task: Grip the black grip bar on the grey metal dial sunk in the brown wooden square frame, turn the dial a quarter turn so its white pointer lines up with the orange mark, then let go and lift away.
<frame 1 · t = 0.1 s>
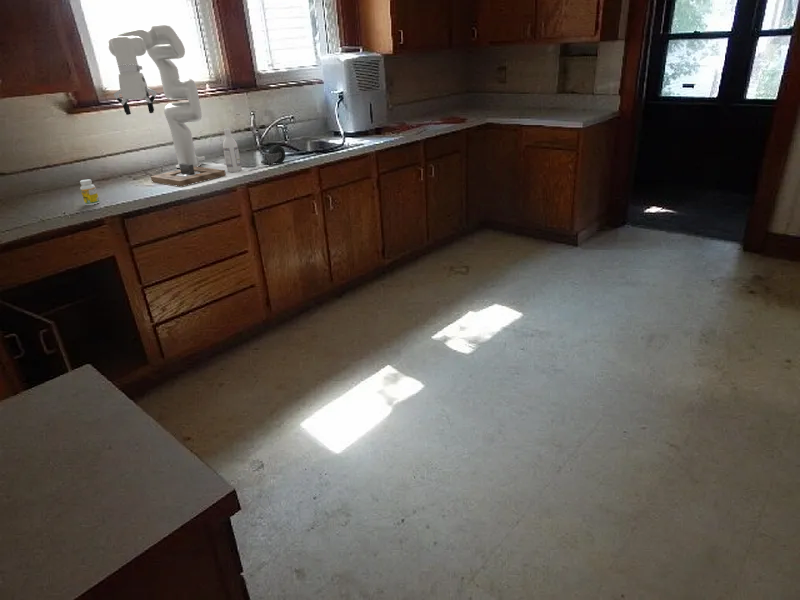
hand: (140, 113, 225), 31 cm above the counter, tool pointing down, fingers open, 9 cm apart
dial: (187, 171, 249), point 3 cm above the counter, hinge at 0.0°
caster wheel: (273, 165, 271), on the counter
supplement bottle: (92, 204, 215), on the counter
brown wooden square frame: (189, 178, 251), on the counter
bath foam: (234, 171, 262), on the counter
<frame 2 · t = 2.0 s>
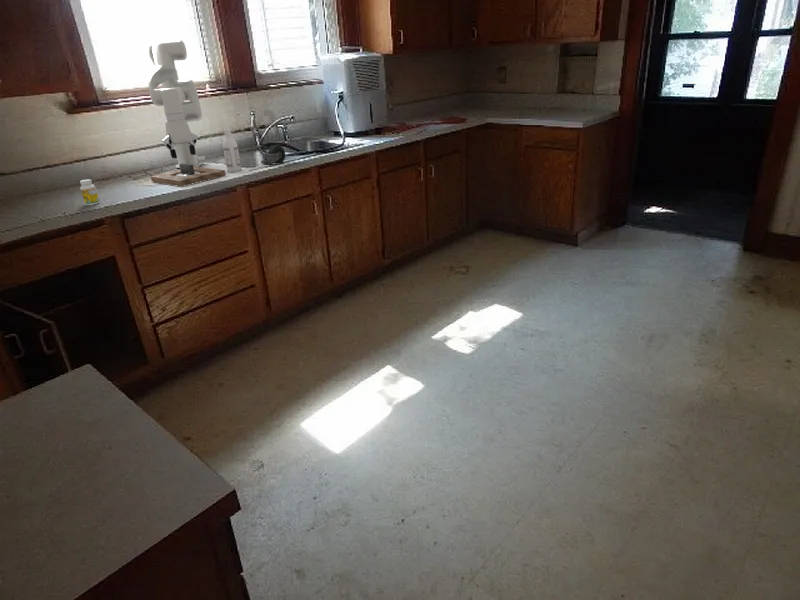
hand: (184, 156, 246), 10 cm above the counter, tool pointing down, fingers open, 9 cm apart
nothing on the counter moved.
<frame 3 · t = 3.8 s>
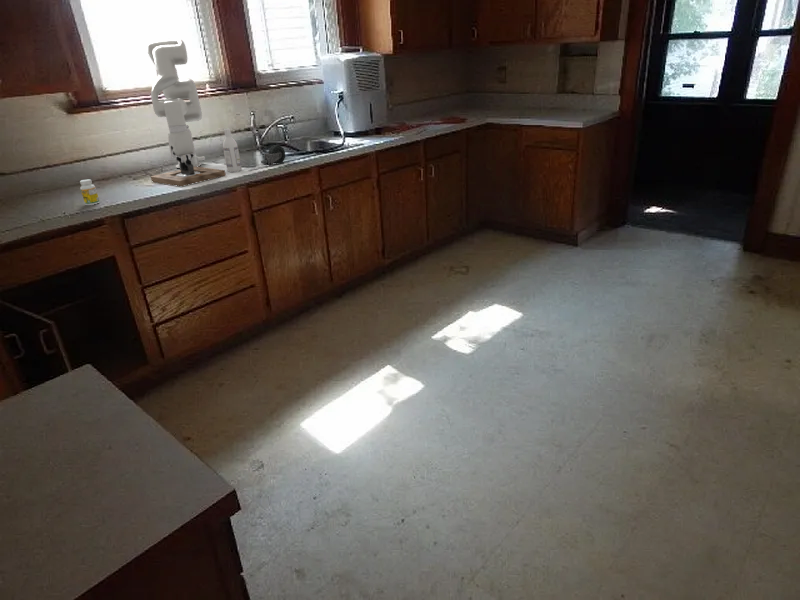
hand: (187, 169, 249), 4 cm above the counter, tool pointing down, fingers closed on dial, 2 cm apart
dial: (187, 171, 249), point 3 cm above the counter, hinge at 0.0°, touching gripper
everything else where it was.
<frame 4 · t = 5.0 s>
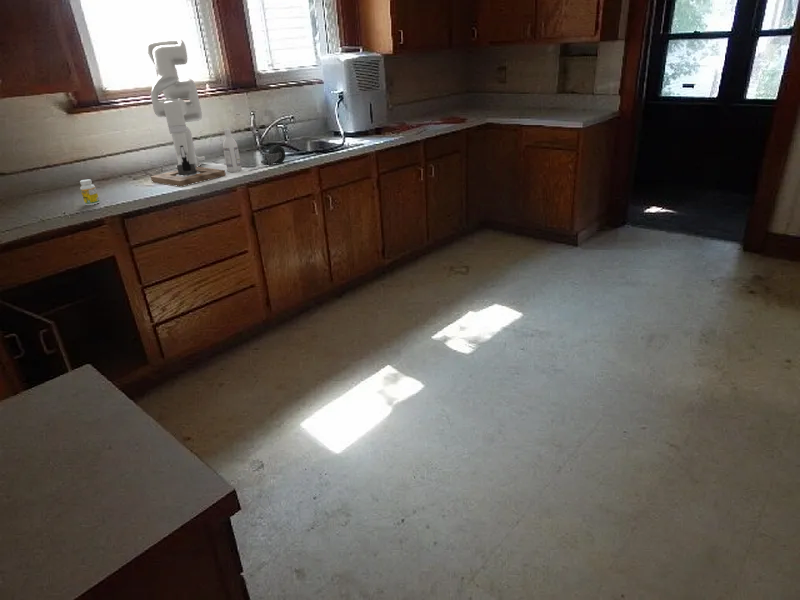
hand: (187, 169, 249), 4 cm above the counter, tool pointing down, fingers closed on dial, 3 cm apart
dial: (187, 171, 249), point 3 cm above the counter, hinge at 41.6°, touching gripper
everything else where it was.
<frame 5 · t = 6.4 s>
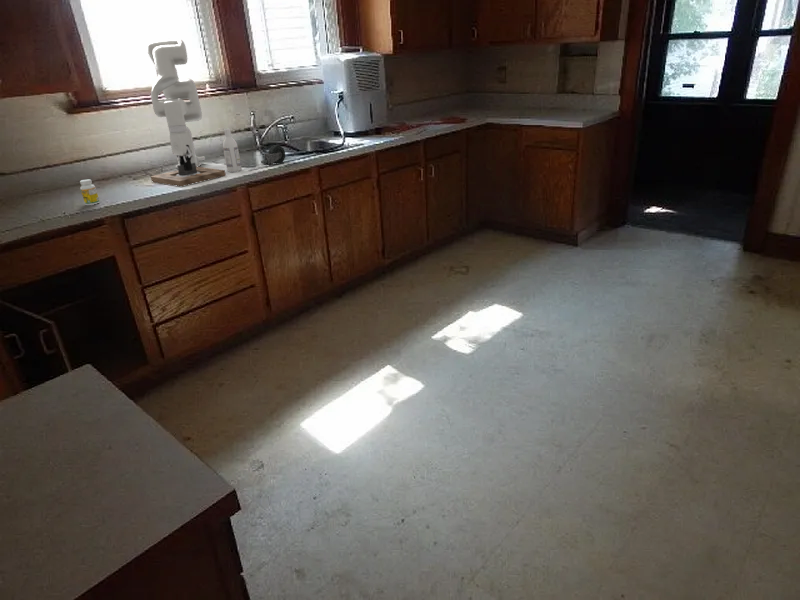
hand: (187, 169, 249), 4 cm above the counter, tool pointing down, fingers closed on dial, 3 cm apart
dial: (187, 171, 249), point 3 cm above the counter, hinge at 73.5°, touching gripper
everything else where it was.
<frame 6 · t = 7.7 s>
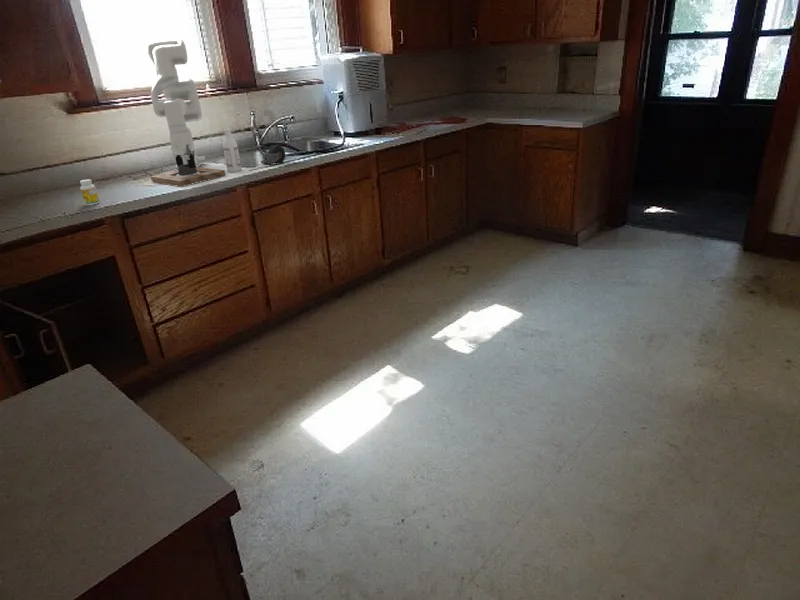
hand: (186, 167, 249), 5 cm above the counter, tool pointing down, fingers open, 9 cm apart
dial: (187, 171, 249), point 3 cm above the counter, hinge at 74.5°
everything else where it was.
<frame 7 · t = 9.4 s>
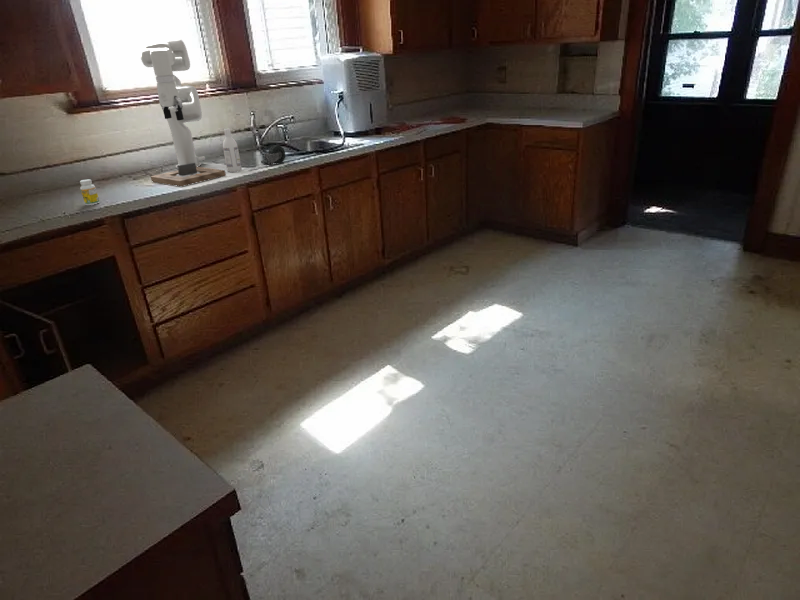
hand: (174, 119, 248), 26 cm above the counter, tool pointing down, fingers open, 9 cm apart
nothing on the counter moved.
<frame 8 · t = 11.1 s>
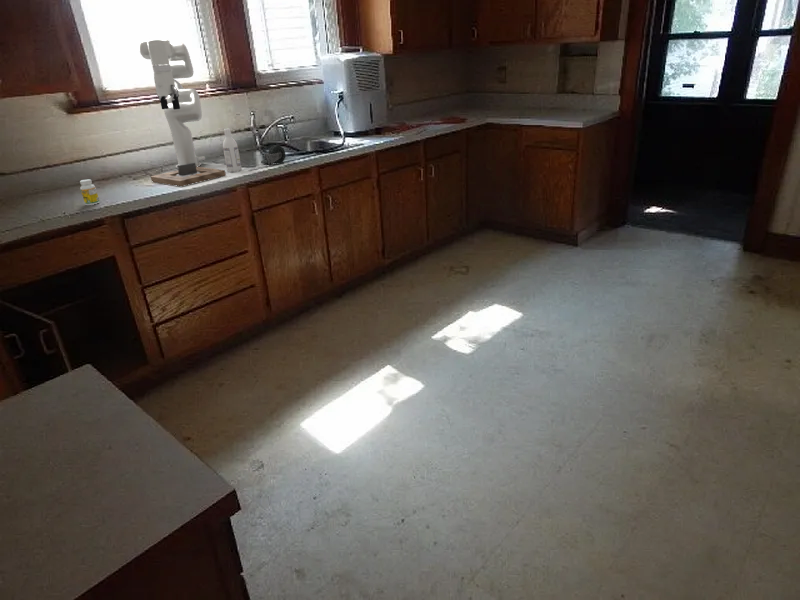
hand: (171, 109, 249), 30 cm above the counter, tool pointing down, fingers open, 9 cm apart
nothing on the counter moved.
at the end: dial at +74° (first picture: +0°); the gripper is holding nothing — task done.
